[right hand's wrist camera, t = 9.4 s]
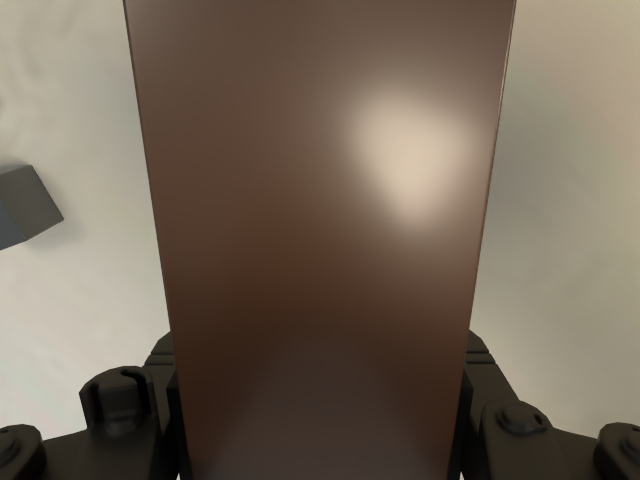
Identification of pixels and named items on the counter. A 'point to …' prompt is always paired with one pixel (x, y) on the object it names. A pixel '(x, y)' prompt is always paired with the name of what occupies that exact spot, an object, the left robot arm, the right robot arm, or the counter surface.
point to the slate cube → (24, 207)
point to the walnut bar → (319, 222)
